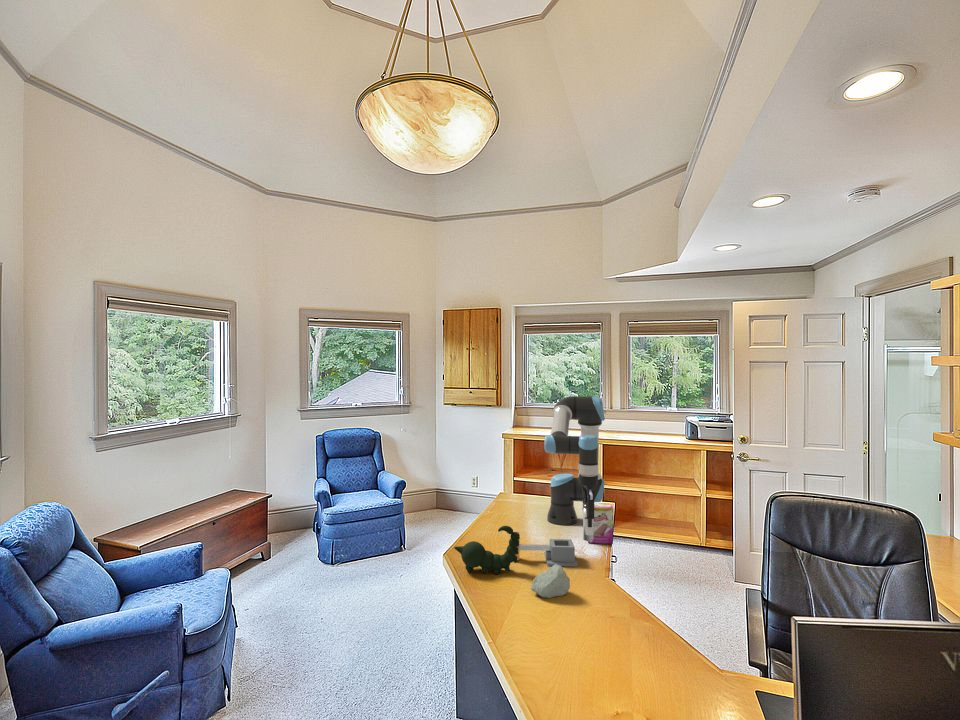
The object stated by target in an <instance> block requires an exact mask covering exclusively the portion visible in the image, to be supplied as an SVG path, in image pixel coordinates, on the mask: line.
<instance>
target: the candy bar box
mask: <svg viewBox="0 0 960 720" xmlns="http://www.w3.org/2000/svg"><path fill="white" fill-rule="evenodd" d="M587 543H588V544H598V545H599V544H600V545H614V507H613V505H612V504H595V503H594V519H593V541H587Z"/></svg>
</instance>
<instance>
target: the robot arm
mask: <svg viewBox="0 0 960 720" xmlns="http://www.w3.org/2000/svg"><path fill="white" fill-rule="evenodd" d="M551 414H552V415H551V416H552V419H553V420H552V425H551V432H550V434H548V435H545V437H544V443H543V444H544V447H543V448H544V451H545V453H547V454H563V455H578V466H577V469H578V475H577V477H575V476H574V474H572V473H558V474H555V475H554V476H552V477H551V479H550V485H549V486H550V507H549V509H548V512H547V515H546V516H547V517H546V519H547V520H546V521H548V522H549V523H550V524H553V525H554V524H555V525H560V526H562V525H563V526H570V525H574V524H576V523H577V522H578V515H577V512H576V510H575V505H574V502H582V505H583V504H584V503H586V515H587V517H585V519H586V535H593V519H594V504H595V503H601V502H602V501H603V497H604V492H605V479H604V478H602V474H601V473H600V472H599V462H600V461H599V460H600V459H599V458H600V457H599V452H600V451H599V448H600V447H599V446H600V445H599V439H600V437H599V436H600V435H599V430H600V429H599V427H600V426H602V424H603V421H605V420H606V417H605V411H604V404H603V399H602V398H601V397H600V396H592V395H590V396H588V395H587V396H582V395H581V396H579V395H578V396H574V395H571V396H570V395H569V396H566V397H564V398H562V399H560V400H559V401H558V402H556V403H555V404H554V406H553V409H552V412H551ZM571 420H575V421H577V424H578V425H579V426H580V436H579V435H578V436H577V435H569V430H570V429H569V428H570V421H571Z"/></svg>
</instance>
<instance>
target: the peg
mask: <svg viewBox="0 0 960 720" xmlns="http://www.w3.org/2000/svg"><path fill="white" fill-rule="evenodd" d="M582 513H583V514H582V515H583V516H582V517H583V518H582V522H583V524H582V525H583V526H582V534H583V536H582V537H583V538H582V539H583V540H584V541H585V542H588V541H593V535H586V519H585V517H587V515H586V503H584V504H583V503H582Z"/></svg>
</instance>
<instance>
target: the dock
mask: <svg viewBox="0 0 960 720" xmlns="http://www.w3.org/2000/svg"><path fill="white" fill-rule="evenodd" d="M549 545H551V551H543V552H544V553H543V554H544V558H545V563H546V566H547V567H552V566H553V565H555V564H557V565H560V566H562V567H577V568H578V566H579V564H578V561H577V559H576V556H575V554H576V553H575V552H576V551H575V549H576V547H575V545H574V542H573V541H572V539H571V538H570V539H569V538H562V539H561V538H549Z"/></svg>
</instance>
